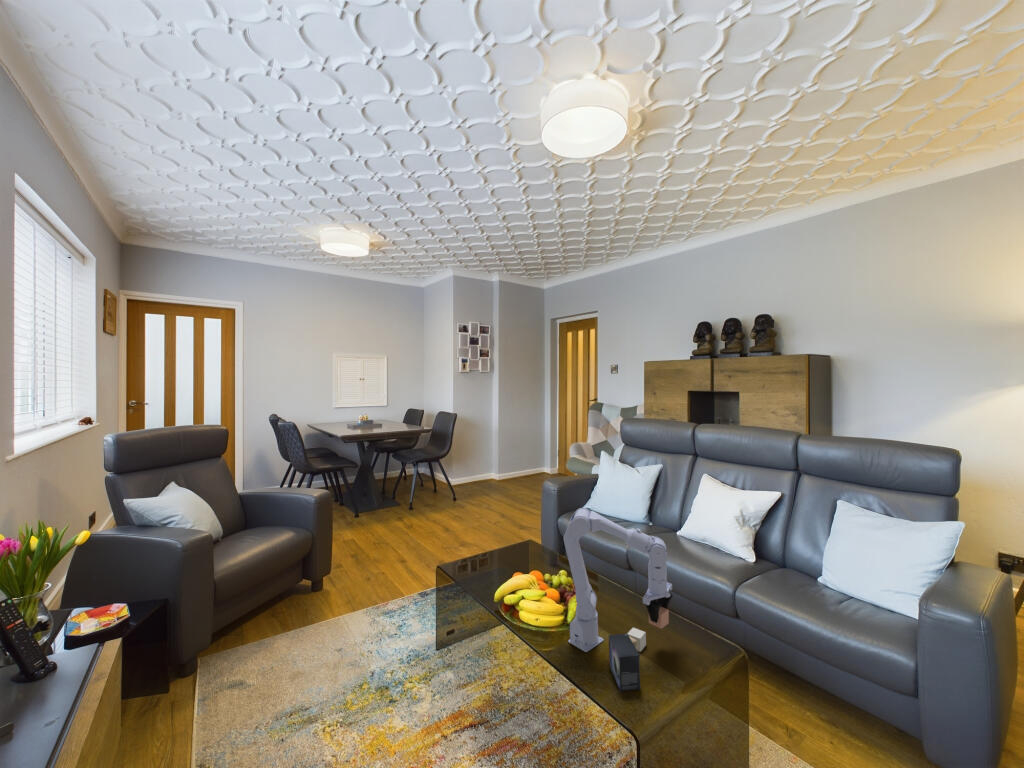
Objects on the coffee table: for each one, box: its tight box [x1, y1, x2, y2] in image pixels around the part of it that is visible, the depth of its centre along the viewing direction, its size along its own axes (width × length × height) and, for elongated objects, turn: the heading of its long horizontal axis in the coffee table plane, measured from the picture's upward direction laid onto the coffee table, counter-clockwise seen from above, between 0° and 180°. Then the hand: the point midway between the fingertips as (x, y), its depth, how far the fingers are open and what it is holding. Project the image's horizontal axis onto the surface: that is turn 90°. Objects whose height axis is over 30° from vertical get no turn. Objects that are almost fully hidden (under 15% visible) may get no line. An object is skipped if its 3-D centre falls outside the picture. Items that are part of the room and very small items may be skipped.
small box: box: [608, 633, 642, 692], centre depth 133 cm, size 11×6×10 cm, turn 5°
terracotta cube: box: [648, 606, 670, 630], centre depth 146 cm, size 4×4×4 cm
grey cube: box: [626, 627, 647, 653], centre depth 148 cm, size 4×4×4 cm
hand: (658, 618), depth 146 cm, fingers closed on terracotta cube, 4 cm apart
